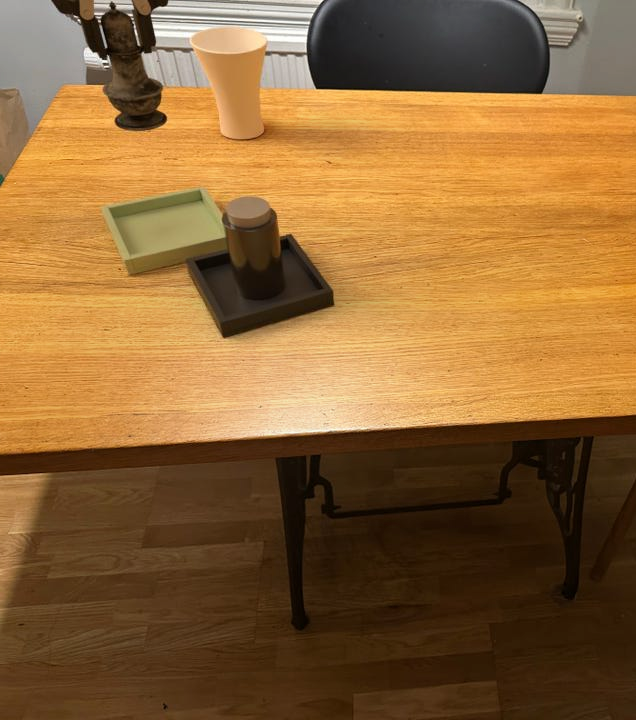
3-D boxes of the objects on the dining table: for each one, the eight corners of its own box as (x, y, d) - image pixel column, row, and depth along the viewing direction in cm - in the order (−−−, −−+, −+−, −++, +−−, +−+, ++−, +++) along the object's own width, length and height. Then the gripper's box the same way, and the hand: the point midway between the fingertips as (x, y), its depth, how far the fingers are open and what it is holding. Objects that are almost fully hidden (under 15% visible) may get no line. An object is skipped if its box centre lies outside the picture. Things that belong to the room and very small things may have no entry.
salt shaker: (109, 111, 77) (76, -7, 68) (166, 106, 79) (141, -9, 71) (113, 135, 73) (79, 12, 65) (173, 129, 75) (147, 9, 67)
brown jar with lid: (244, 305, 77) (229, 226, 70) (227, 278, 80) (212, 199, 73) (292, 292, 79) (283, 214, 72) (275, 265, 82) (264, 188, 75)
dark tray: (223, 338, 73) (219, 322, 72) (188, 273, 81) (185, 258, 79) (334, 305, 79) (333, 290, 78) (292, 247, 86) (291, 233, 85)
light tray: (128, 275, 80) (124, 260, 78) (104, 220, 87) (100, 206, 85) (238, 249, 85) (235, 234, 84) (207, 199, 92) (204, 185, 91)
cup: (210, 115, 110) (194, 25, 101) (278, 116, 112) (269, 27, 103) (203, 146, 103) (184, 52, 94) (276, 146, 105) (265, 54, 96)
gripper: (-19, -148, 54) (54, 76, 66) (171, -145, 60) (206, 58, 72) (-29, -164, 58) (41, 48, 70) (149, -160, 65) (185, 34, 76)
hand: (124, 52), depth 71 cm, fingers closed on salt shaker, 3 cm apart
